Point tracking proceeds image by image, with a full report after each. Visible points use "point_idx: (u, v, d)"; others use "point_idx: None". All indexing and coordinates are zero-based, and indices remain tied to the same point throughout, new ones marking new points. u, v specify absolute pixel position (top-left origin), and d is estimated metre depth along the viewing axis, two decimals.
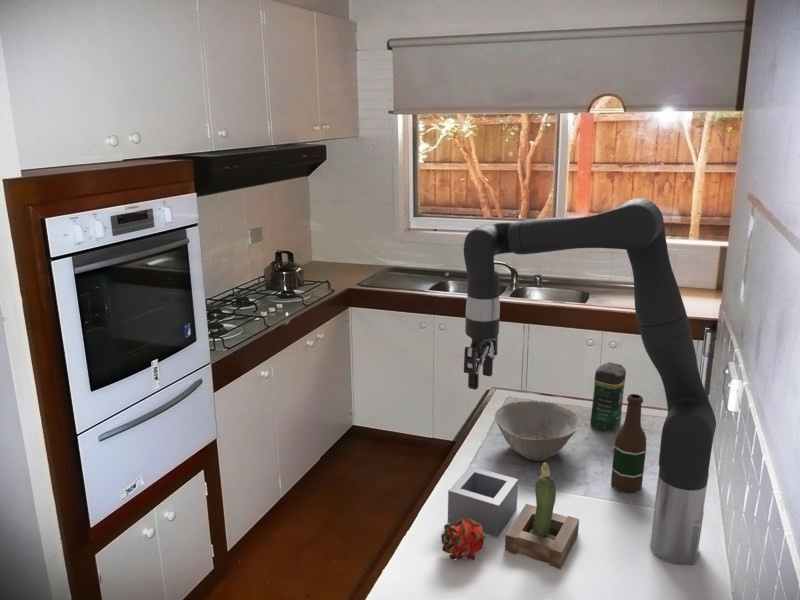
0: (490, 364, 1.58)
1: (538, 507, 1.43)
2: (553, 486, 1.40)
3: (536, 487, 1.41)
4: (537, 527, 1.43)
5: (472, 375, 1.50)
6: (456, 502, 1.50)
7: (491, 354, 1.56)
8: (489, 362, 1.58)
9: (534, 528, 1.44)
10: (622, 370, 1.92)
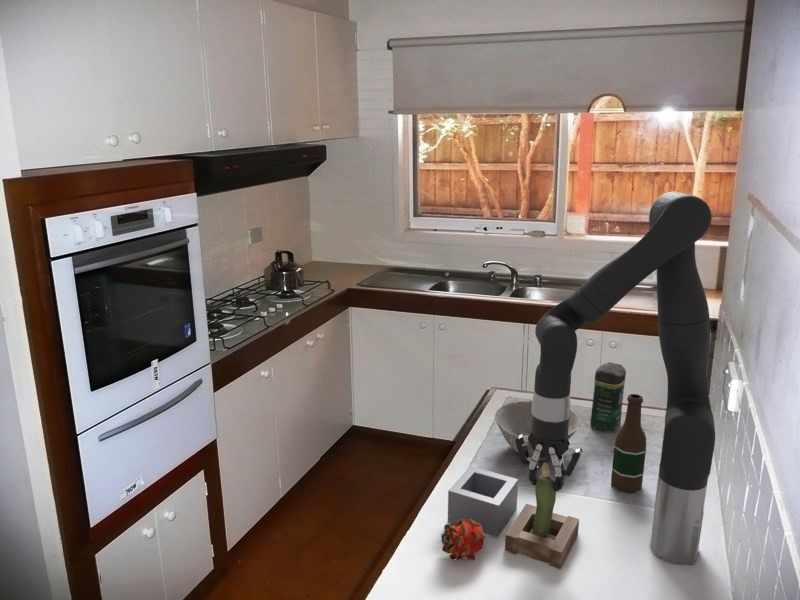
0: (538, 469, 1.42)
1: (538, 507, 1.43)
2: (553, 486, 1.40)
3: (536, 487, 1.41)
4: (537, 527, 1.43)
5: (563, 475, 1.39)
6: (456, 502, 1.50)
7: None
8: (537, 468, 1.42)
9: (534, 528, 1.44)
10: (622, 370, 1.92)
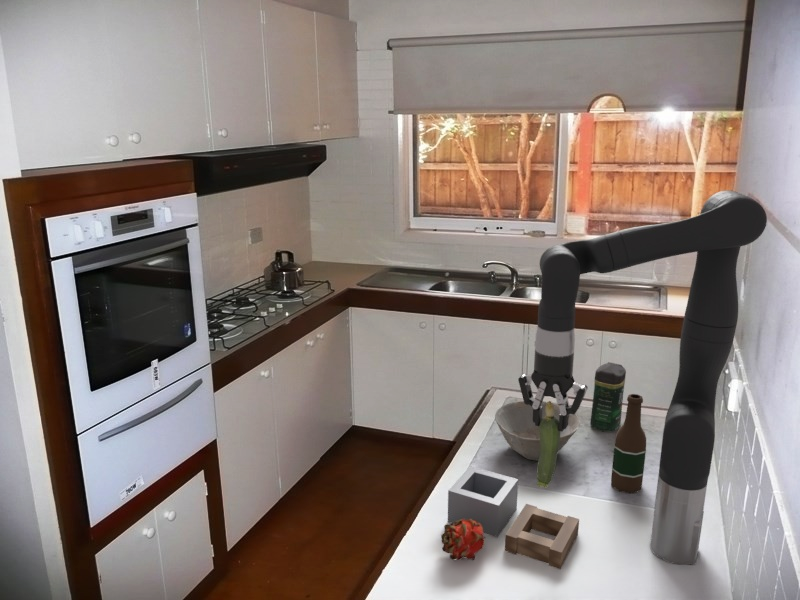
0: (541, 409, 1.39)
1: (542, 449, 1.39)
2: (557, 426, 1.36)
3: (540, 427, 1.37)
4: (542, 470, 1.39)
5: (568, 414, 1.35)
6: (456, 502, 1.50)
7: None
8: (541, 408, 1.38)
9: (538, 471, 1.40)
10: (622, 370, 1.92)
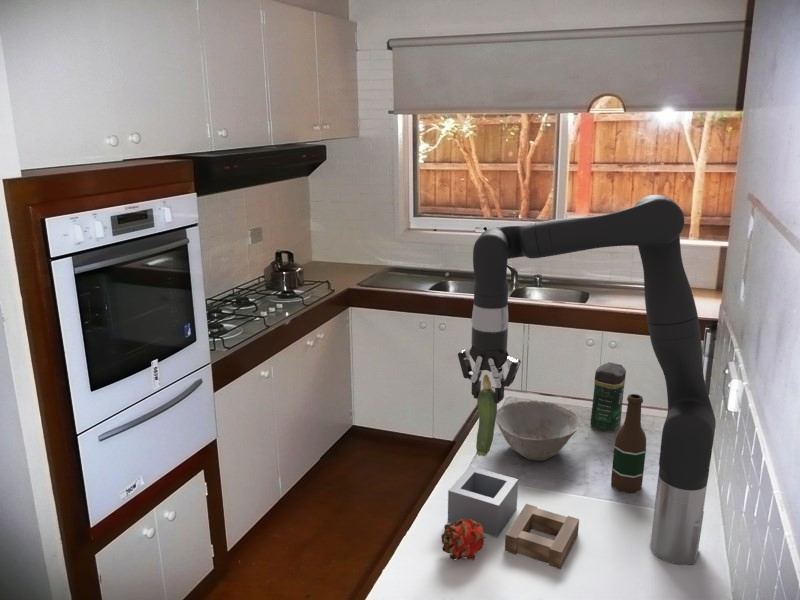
0: (480, 383, 1.48)
1: (480, 420, 1.48)
2: (493, 398, 1.45)
3: (478, 399, 1.46)
4: (480, 440, 1.48)
5: (503, 387, 1.44)
6: (456, 502, 1.50)
7: None
8: (479, 381, 1.47)
9: (477, 441, 1.49)
10: (622, 370, 1.92)
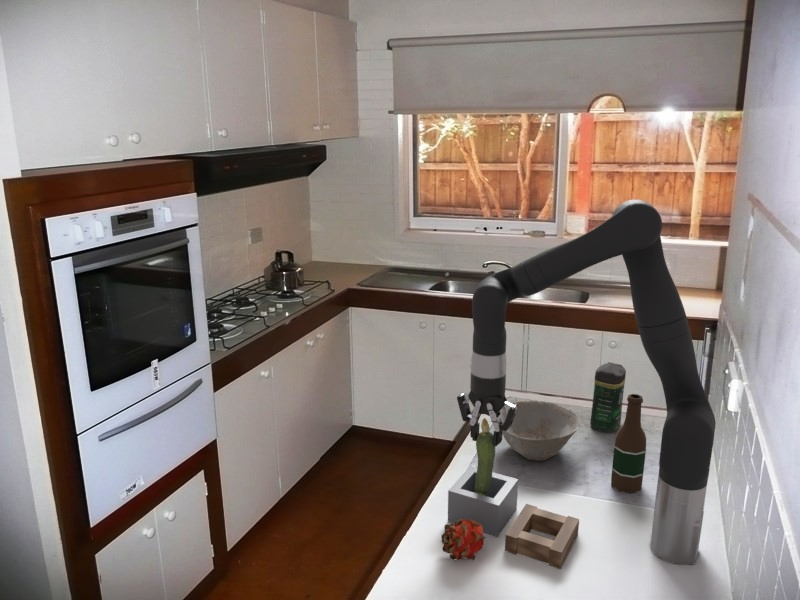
0: (479, 426, 1.51)
1: (479, 462, 1.51)
2: (492, 441, 1.48)
3: (477, 442, 1.49)
4: (479, 481, 1.51)
5: (501, 430, 1.47)
6: (456, 502, 1.50)
7: None
8: (478, 424, 1.50)
9: (476, 482, 1.52)
10: (622, 370, 1.92)
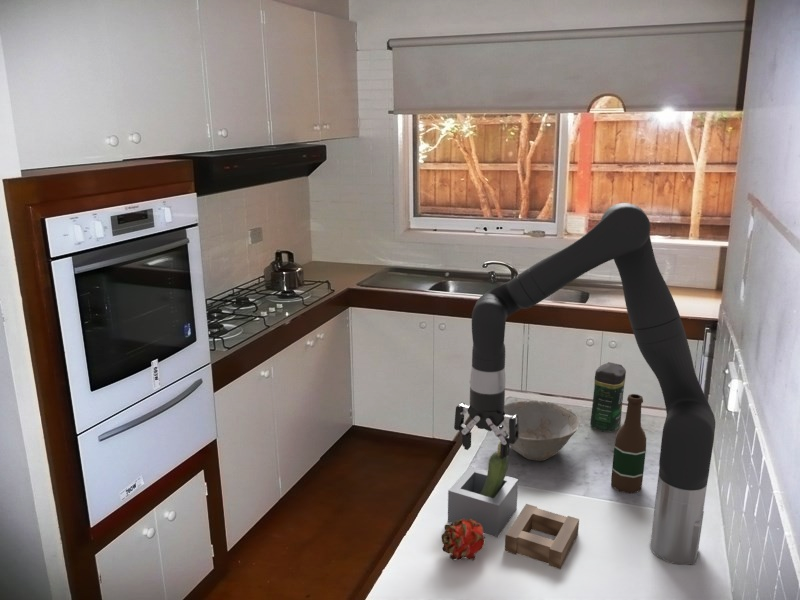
0: (470, 434, 1.52)
1: (488, 480, 1.52)
2: (506, 462, 1.50)
3: (490, 461, 1.51)
4: None
5: (508, 443, 1.47)
6: (456, 502, 1.50)
7: None
8: (470, 433, 1.52)
9: None
10: (622, 370, 1.92)
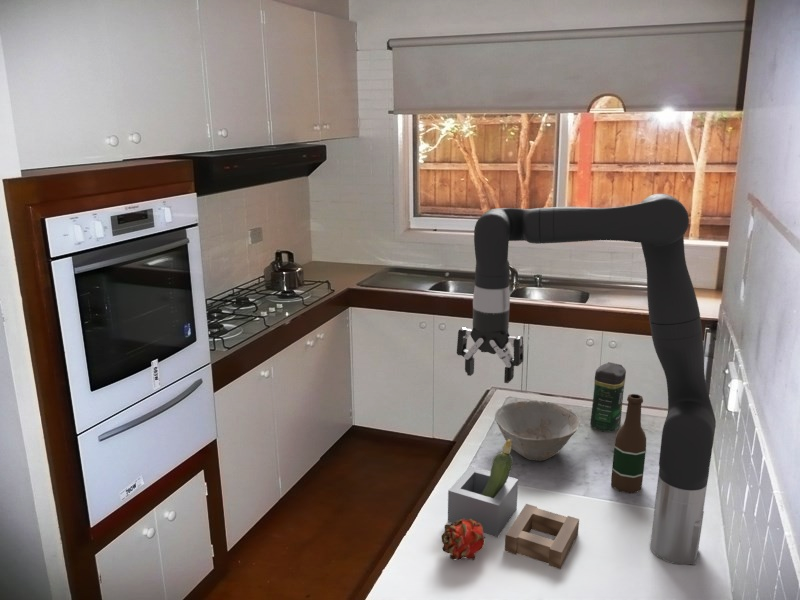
0: (473, 360, 1.47)
1: (490, 480, 1.52)
2: (510, 463, 1.50)
3: (494, 460, 1.51)
4: None
5: (513, 366, 1.42)
6: (456, 502, 1.50)
7: None
8: (473, 359, 1.47)
9: None
10: (622, 370, 1.92)
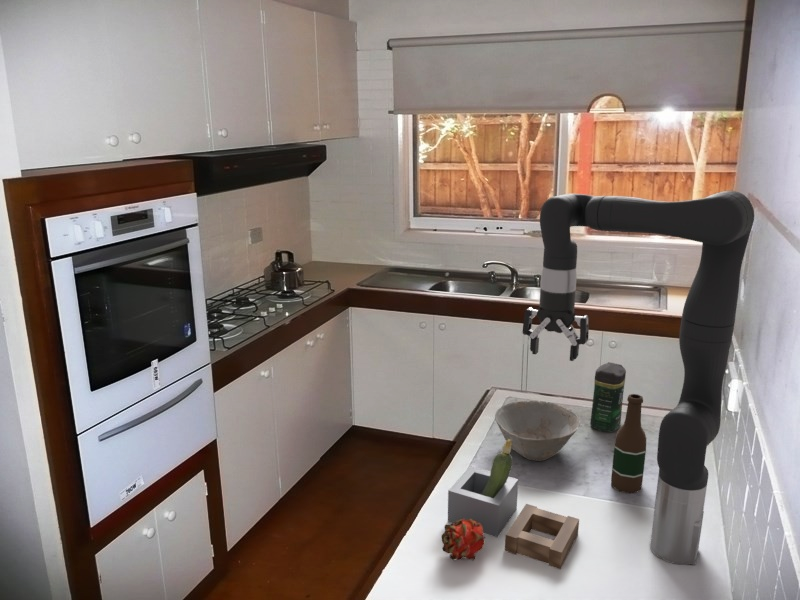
0: (538, 339, 1.53)
1: (490, 480, 1.52)
2: (510, 463, 1.50)
3: (494, 460, 1.51)
4: None
5: (578, 345, 1.48)
6: (456, 502, 1.50)
7: None
8: (538, 338, 1.53)
9: None
10: (622, 370, 1.92)
